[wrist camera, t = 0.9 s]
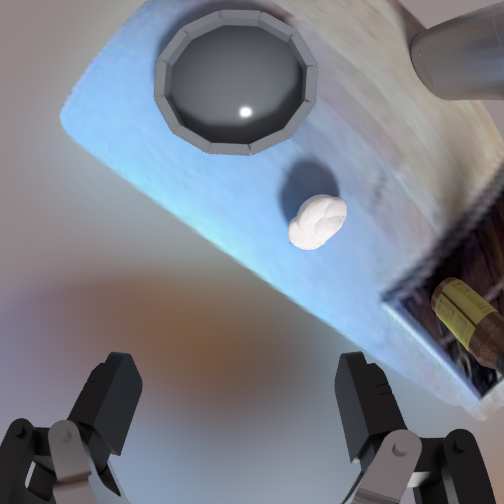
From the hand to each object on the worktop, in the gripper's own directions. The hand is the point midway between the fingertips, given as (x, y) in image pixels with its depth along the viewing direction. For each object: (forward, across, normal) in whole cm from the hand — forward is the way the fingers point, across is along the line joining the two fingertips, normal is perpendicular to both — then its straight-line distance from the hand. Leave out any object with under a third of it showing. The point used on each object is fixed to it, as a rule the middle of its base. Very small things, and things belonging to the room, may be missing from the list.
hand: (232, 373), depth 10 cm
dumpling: (+21, -7, +1) cm, 22 cm away
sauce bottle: (+22, -28, +12) cm, 38 cm away
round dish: (+21, 0, -14) cm, 25 cm away
